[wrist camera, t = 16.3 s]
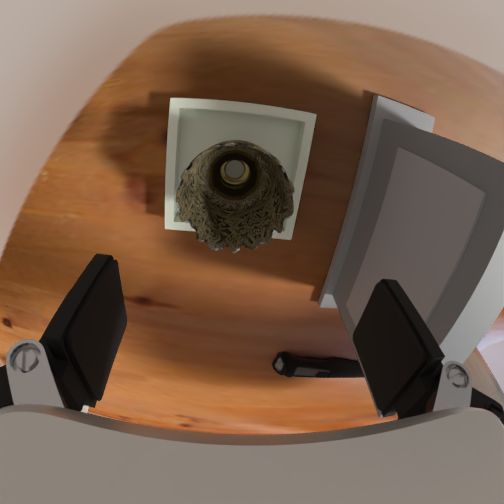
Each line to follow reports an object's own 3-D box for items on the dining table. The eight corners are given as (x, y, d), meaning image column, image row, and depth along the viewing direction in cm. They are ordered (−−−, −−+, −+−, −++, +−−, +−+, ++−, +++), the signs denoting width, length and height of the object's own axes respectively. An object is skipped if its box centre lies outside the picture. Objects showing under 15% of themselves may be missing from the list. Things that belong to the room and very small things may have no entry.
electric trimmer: (355, 369, 44) (360, 384, 41) (270, 364, 40) (273, 381, 38) (366, 355, 42) (373, 370, 39) (279, 348, 38) (282, 366, 36)
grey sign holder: (367, 303, 35) (419, 415, 20) (317, 302, 34) (358, 429, 19) (429, 116, 22) (566, 170, 8) (373, 94, 22) (523, 128, 7)
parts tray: (287, 229, 28) (291, 239, 27) (169, 218, 27) (164, 229, 25) (309, 112, 23) (316, 114, 21) (175, 97, 21) (170, 97, 19)
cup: (176, 155, 23) (152, 183, 17) (251, 112, 22) (259, 121, 15) (220, 221, 27) (216, 270, 20) (290, 184, 25) (312, 223, 19)
